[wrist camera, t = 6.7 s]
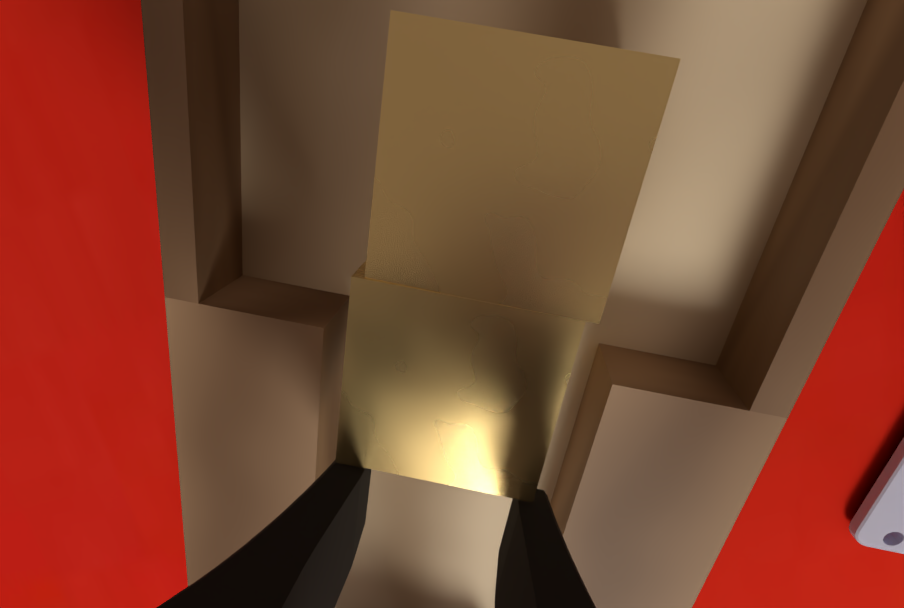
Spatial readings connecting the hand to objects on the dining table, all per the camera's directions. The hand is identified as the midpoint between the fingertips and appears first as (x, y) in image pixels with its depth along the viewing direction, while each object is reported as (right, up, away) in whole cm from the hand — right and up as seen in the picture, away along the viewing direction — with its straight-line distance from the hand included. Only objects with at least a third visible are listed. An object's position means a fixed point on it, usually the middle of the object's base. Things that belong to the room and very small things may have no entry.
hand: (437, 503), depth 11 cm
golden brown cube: (+2, +8, 0) cm, 8 cm away
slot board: (0, +1, +4) cm, 4 cm away
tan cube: (+1, +4, +2) cm, 5 cm away
